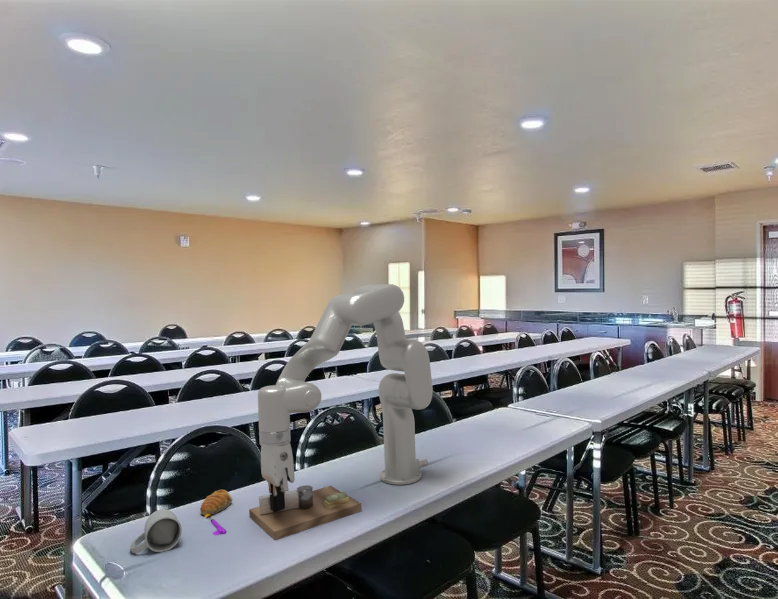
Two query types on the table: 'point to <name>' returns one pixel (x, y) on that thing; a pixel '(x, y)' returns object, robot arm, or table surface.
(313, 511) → the brown wooden board
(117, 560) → the table surface
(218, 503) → the pastry
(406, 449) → the robot arm
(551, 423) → the table surface
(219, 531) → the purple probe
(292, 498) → the ball-ended lever
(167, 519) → the ceramic mug
